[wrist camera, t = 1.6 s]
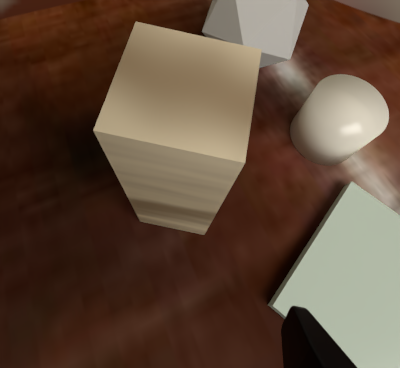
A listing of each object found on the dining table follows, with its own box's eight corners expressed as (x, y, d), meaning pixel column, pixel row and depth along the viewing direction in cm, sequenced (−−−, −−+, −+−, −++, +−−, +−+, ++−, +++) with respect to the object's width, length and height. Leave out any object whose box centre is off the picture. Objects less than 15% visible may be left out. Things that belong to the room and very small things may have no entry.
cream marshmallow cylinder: (334, 178, 24) (368, 155, 20) (277, 138, 25) (298, 107, 21) (364, 133, 26) (400, 103, 22) (310, 97, 27) (335, 62, 22)
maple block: (204, 234, 21) (244, 163, 9) (140, 221, 21) (93, 130, 9) (215, 175, 23) (261, 49, 11) (156, 163, 23) (135, 21, 11)
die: (293, 90, 28) (344, -27, 23) (240, 88, 22) (293, -70, 17) (234, 64, 32) (266, -39, 27) (177, 56, 26) (204, -76, 21)
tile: (419, 432, 18) (432, 439, 17) (267, 304, 20) (272, 305, 19) (475, 279, 22) (489, 278, 21) (344, 185, 24) (351, 181, 23)
